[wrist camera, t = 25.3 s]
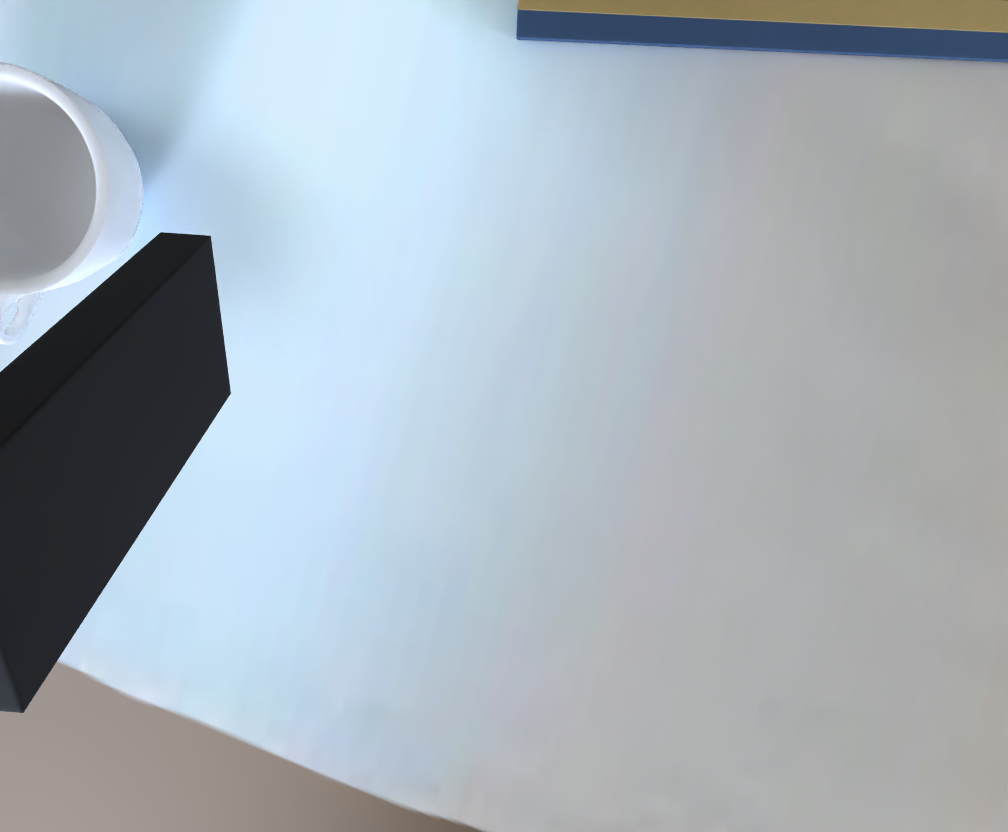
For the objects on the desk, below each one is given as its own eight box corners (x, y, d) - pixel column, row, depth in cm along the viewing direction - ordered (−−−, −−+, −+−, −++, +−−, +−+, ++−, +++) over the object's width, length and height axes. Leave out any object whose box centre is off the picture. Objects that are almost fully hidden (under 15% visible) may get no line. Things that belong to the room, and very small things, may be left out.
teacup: (-9, 63, 34) (-101, 32, 29) (184, 118, 35) (129, 97, 30) (-47, 309, 36) (-138, 322, 31) (137, 358, 37) (78, 379, 32)
